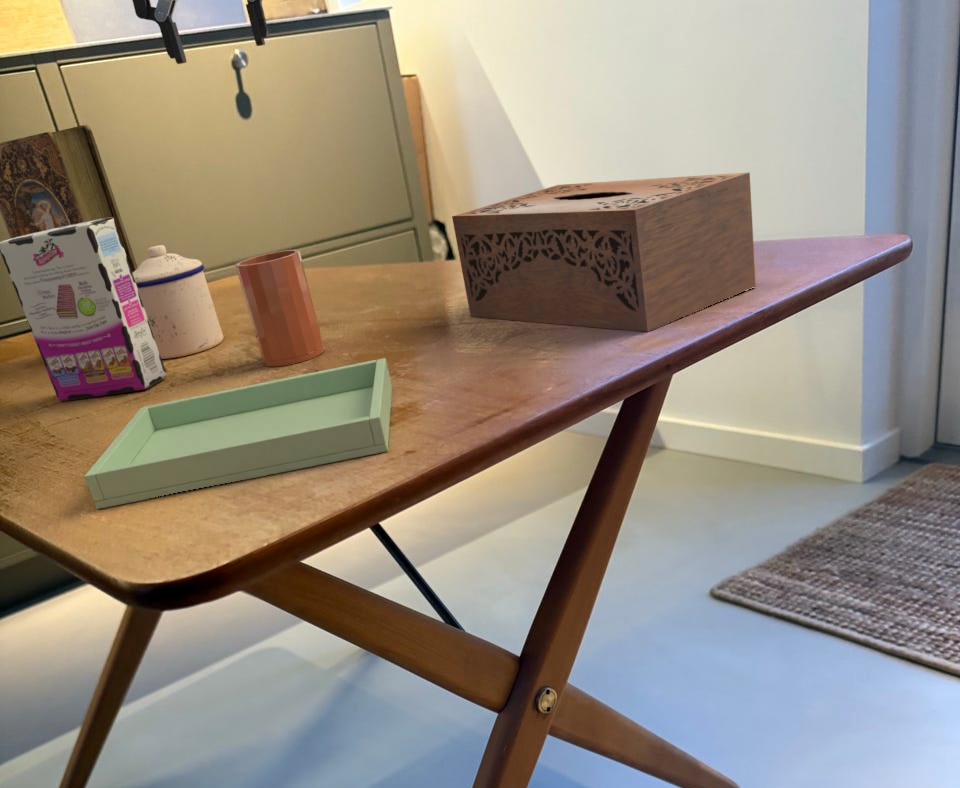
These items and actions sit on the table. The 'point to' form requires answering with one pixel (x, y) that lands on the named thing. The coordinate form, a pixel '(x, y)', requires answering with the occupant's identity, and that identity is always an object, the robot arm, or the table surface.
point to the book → (56, 184)
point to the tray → (246, 434)
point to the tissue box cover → (610, 251)
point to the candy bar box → (84, 309)
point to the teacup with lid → (177, 303)
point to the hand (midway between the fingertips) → (221, 54)
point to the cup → (280, 307)
